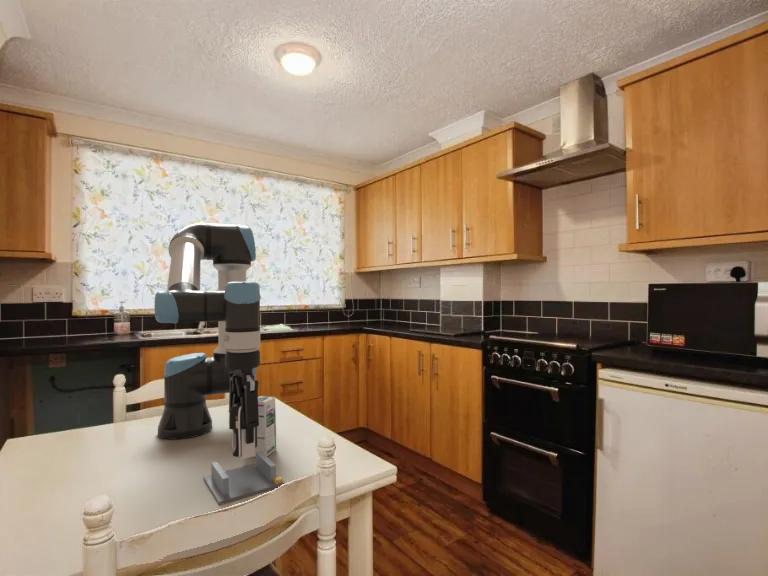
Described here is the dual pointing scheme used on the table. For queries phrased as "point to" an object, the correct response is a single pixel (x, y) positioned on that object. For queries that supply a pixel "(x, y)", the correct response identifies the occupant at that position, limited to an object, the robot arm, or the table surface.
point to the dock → (242, 479)
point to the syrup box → (266, 425)
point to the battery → (238, 428)
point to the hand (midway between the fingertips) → (243, 451)
